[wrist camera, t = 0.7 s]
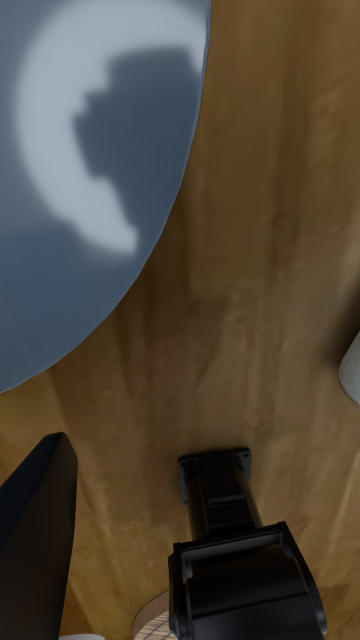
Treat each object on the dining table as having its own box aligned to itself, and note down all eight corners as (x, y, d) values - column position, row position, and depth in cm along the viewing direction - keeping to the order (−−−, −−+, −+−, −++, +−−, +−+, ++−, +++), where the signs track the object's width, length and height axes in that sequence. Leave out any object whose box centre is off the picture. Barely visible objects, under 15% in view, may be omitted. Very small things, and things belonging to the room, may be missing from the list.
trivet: (341, 587, 45) (349, 604, 44) (234, 657, 54) (237, 673, 52) (202, 555, 36) (205, 574, 35) (100, 644, 45) (98, 663, 43)
